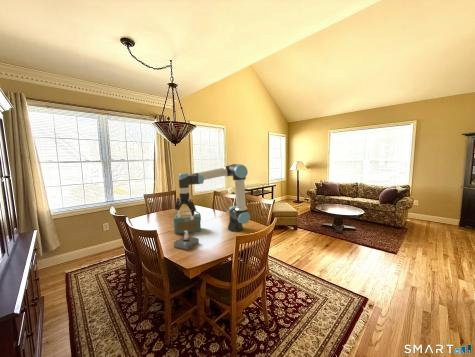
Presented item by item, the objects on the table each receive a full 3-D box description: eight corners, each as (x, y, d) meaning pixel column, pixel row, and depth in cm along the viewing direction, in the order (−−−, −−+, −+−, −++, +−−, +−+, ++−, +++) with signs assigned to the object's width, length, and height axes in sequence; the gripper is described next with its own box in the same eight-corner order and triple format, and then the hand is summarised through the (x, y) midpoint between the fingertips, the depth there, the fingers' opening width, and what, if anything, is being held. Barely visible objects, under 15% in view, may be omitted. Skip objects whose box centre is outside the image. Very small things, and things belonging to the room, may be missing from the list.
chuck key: (190, 243, 165) (189, 230, 164) (185, 246, 160) (185, 232, 159) (187, 243, 167) (187, 229, 165) (182, 246, 161) (182, 231, 160)
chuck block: (198, 243, 166) (198, 238, 166) (187, 250, 154) (187, 245, 153) (185, 240, 173) (185, 235, 172) (174, 246, 160) (173, 242, 160)
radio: (173, 234, 187) (172, 213, 184) (174, 230, 197) (173, 210, 195) (201, 231, 192) (200, 211, 190) (201, 227, 202) (200, 208, 200)
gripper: (199, 192, 156) (200, 219, 158) (175, 190, 167) (177, 215, 170) (193, 194, 149) (194, 221, 152) (169, 192, 160) (170, 217, 163)
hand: (185, 218), depth 161 cm, fingers open, 13 cm apart
